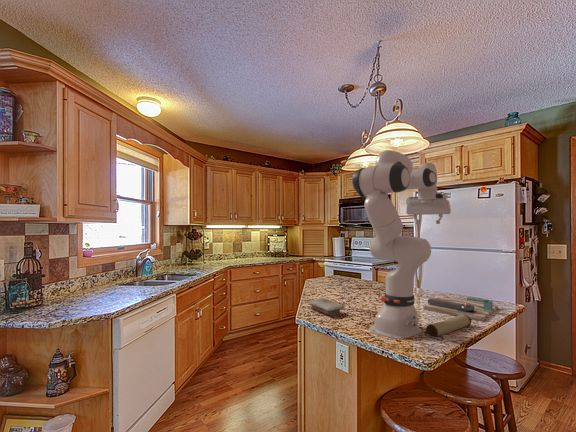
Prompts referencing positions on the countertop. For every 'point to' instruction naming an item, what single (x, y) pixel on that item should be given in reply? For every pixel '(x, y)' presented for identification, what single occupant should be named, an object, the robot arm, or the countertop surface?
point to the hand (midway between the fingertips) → (427, 223)
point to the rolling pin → (448, 325)
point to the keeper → (486, 302)
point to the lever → (452, 305)
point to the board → (477, 314)
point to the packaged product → (326, 306)
